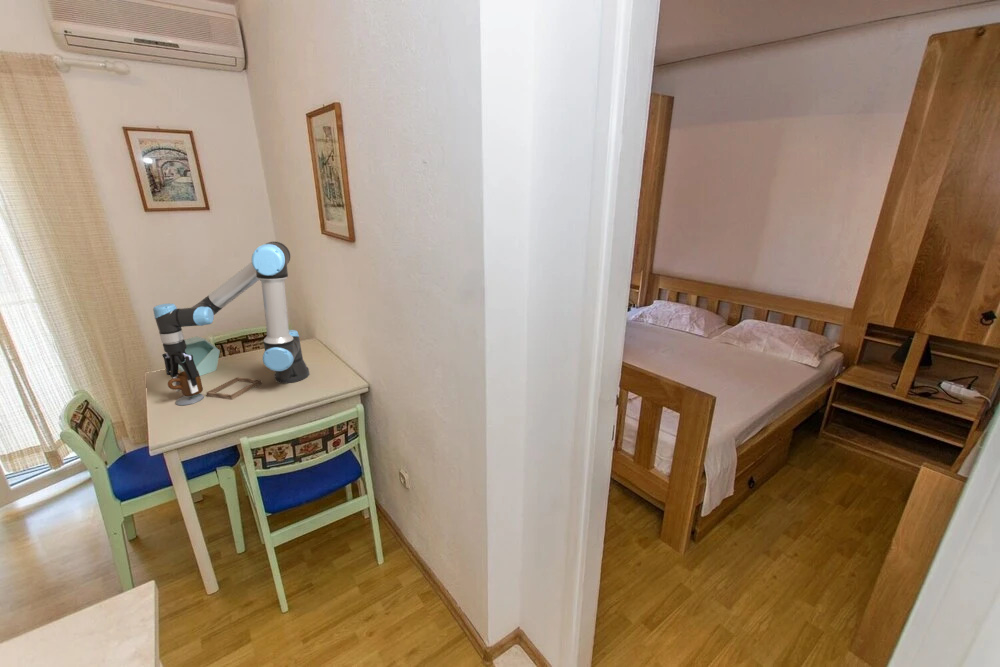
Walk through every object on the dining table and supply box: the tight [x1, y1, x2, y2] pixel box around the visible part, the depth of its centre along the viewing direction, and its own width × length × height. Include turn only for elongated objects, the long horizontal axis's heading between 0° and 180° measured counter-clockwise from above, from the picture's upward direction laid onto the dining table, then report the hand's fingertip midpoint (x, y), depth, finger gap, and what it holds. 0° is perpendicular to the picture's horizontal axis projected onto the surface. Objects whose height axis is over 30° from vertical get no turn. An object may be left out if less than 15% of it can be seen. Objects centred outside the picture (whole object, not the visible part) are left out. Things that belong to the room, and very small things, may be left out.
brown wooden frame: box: [205, 376, 262, 400], centre depth 197 cm, size 14×17×2 cm
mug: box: [167, 370, 204, 396], centre depth 186 cm, size 12×8×9 cm, turn 151°
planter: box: [178, 335, 221, 377], centre depth 213 cm, size 17×8×21 cm
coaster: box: [175, 393, 204, 407], centre depth 188 cm, size 10×10×1 cm
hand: (187, 391), depth 186 cm, fingers closed on mug, 7 cm apart
